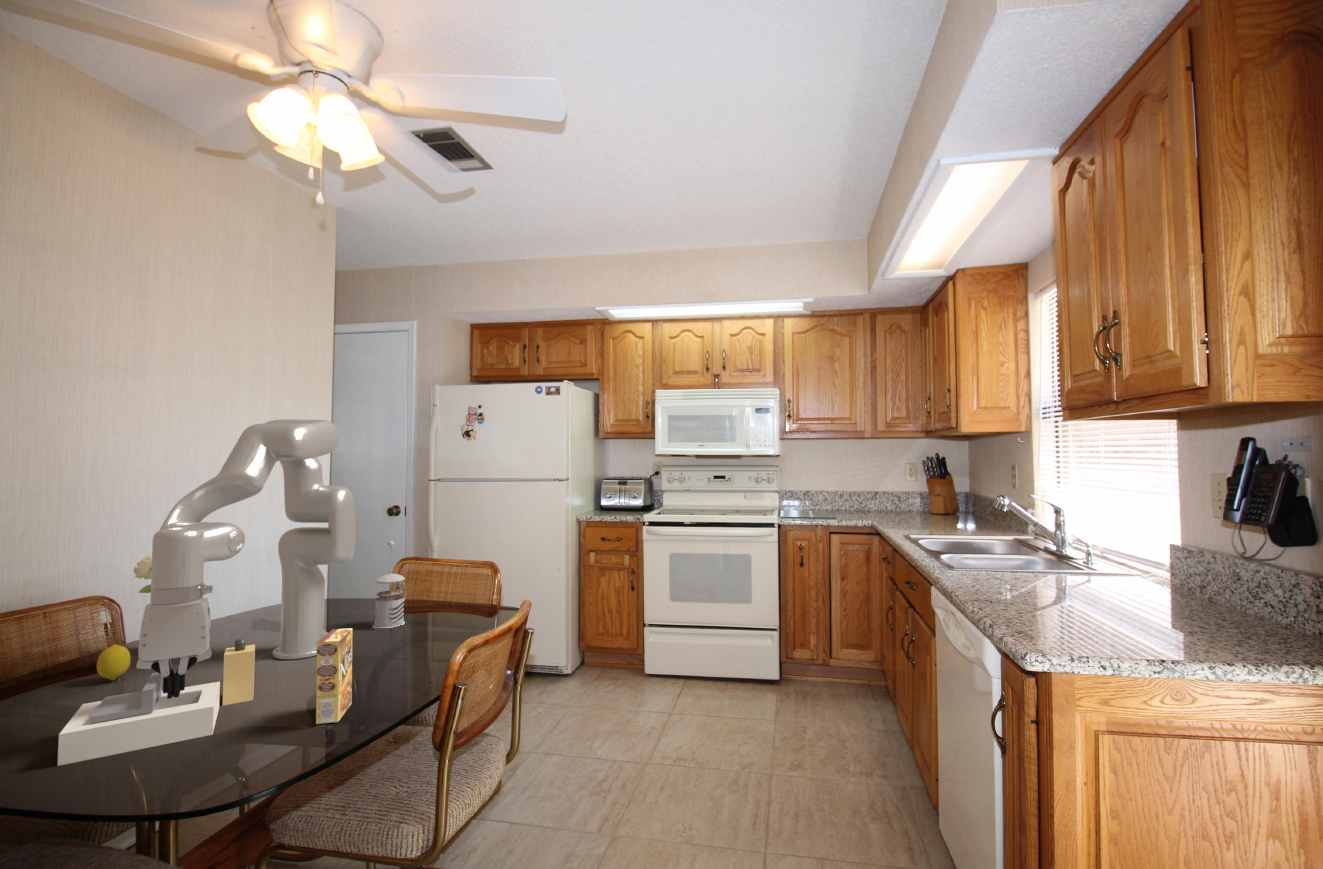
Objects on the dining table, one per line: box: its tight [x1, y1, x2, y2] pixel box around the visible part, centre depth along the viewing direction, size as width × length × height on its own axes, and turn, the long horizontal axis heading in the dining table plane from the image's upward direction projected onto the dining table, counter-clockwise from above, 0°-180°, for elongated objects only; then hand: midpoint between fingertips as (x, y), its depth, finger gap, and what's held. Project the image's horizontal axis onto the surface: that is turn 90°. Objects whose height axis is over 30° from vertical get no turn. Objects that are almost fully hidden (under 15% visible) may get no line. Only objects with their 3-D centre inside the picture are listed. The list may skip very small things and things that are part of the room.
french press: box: [372, 540, 407, 628], centre depth 176 cm, size 10×12×25 cm
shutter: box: [90, 672, 163, 723], centre depth 106 cm, size 8×10×4 cm
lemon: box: [96, 643, 131, 682], centre depth 132 cm, size 6×6×8 cm
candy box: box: [315, 627, 353, 725], centre depth 115 cm, size 9×4×15 cm, turn 13°
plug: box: [222, 638, 256, 707], centre depth 122 cm, size 5×5×12 cm
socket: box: [57, 681, 221, 767], centre depth 107 cm, size 20×14×5 cm
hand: (173, 695), depth 109 cm, fingers closed
